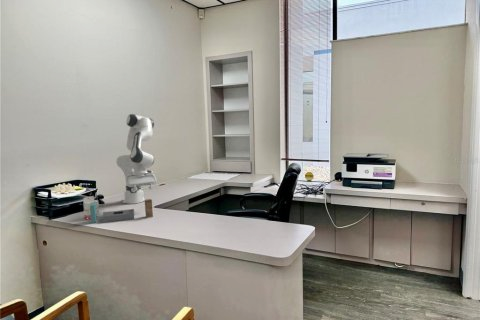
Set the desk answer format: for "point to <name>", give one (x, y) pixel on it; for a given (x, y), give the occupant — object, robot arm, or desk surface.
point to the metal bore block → (118, 215)
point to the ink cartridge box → (87, 206)
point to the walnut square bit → (148, 208)
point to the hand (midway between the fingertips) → (144, 189)
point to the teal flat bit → (93, 212)
